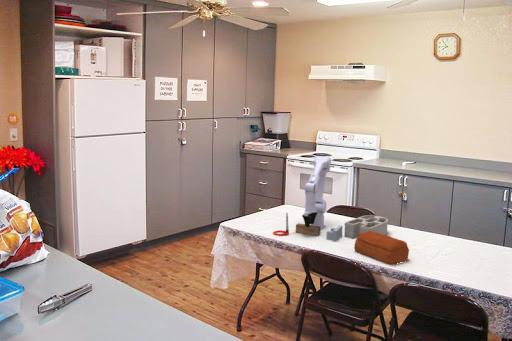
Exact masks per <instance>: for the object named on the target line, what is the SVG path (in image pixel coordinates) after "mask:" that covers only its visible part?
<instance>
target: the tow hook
mask: <svg viewBox="0 0 512 341" xmlns="http://www.w3.org/2000/svg"><path fill="white" fill-rule="evenodd" d="M285 215H286V216H285V230H283V229H282V230H281V229H280V230H274V231H273V232H272V234H273V235H274V236H277V235H278V237H279V236H289V234H290V231H289V230H290V228H289V215H288V212H286V214H285Z"/></svg>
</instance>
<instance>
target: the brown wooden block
mask: <svg viewBox="0 0 512 341" xmlns="http://www.w3.org/2000/svg"><path fill="white" fill-rule="evenodd" d="M321 230H322V229H321V226H314V225H311V224H310V226H309V227H305V223H301V222H300V223H296V224H295V234H301V235H307V236H311V237H312V236H313V237H319V236H321Z"/></svg>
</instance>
